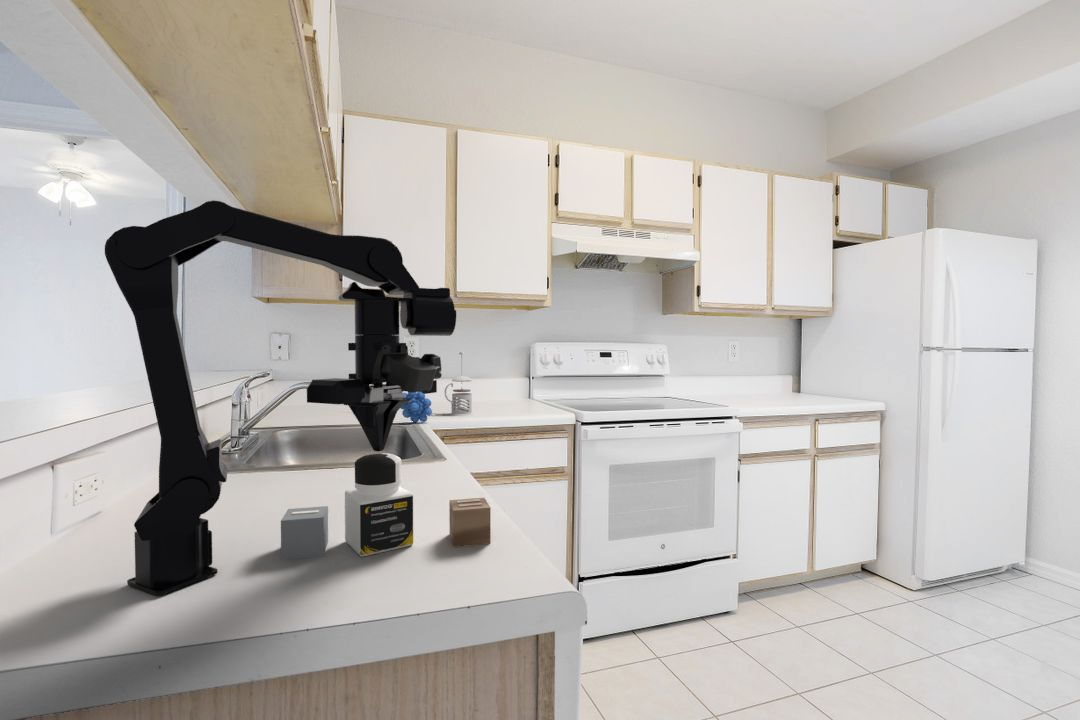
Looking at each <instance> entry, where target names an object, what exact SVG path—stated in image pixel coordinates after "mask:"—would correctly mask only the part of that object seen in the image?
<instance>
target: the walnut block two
mask: <svg viewBox="0 0 1080 720" xmlns="http://www.w3.org/2000/svg"><path fill="white" fill-rule="evenodd" d="M448 502H449V517H448V518H449V519H448V520H449V521H448V522H449V537H450V540H451V541H450V542H451V543H452V547H453V548H459V547H460V548H461V547H468V546H469V547H470V546H477V545H480V546H481V545H488V544H491V541H492V540H491V539H492V538H491V529H492V528H491V506H490V504H489V503H488V502H487V499H486V497H473V498H471V497H470V498H461V499H449V501H448Z"/></svg>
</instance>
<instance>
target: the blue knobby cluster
mask: <svg viewBox="0 0 1080 720" xmlns="http://www.w3.org/2000/svg"><path fill="white" fill-rule="evenodd" d="M403 393H404V398H411V400H410V402H407V403H405V404H404V405H403V406H402V407H401V408H400V410H402V416H403V417H404V418H406V419H409V418H410V421H411V422H412V421H413V422H412V423H414V422H417V423H418V422H419V421H420V422H422V423H425V422H427V421H428V416H429V417H430V416H431V415H432V414H433V410H432V408H431V406H432V401H431V400H430V399H429V398H427V397H426V394H422V392H416V393H411V392H407V393H406V392H403Z"/></svg>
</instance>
